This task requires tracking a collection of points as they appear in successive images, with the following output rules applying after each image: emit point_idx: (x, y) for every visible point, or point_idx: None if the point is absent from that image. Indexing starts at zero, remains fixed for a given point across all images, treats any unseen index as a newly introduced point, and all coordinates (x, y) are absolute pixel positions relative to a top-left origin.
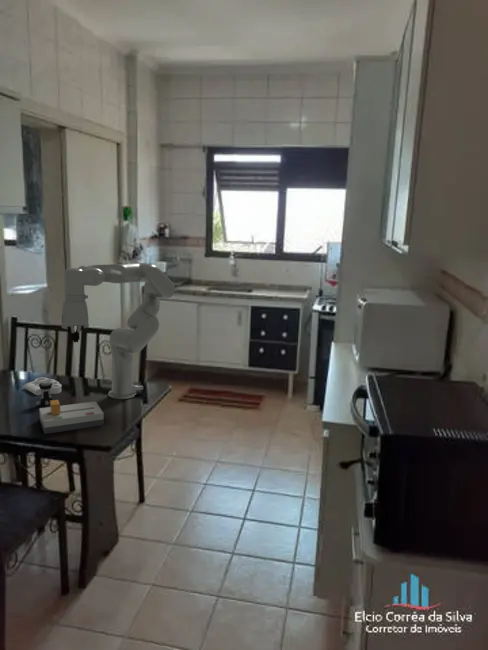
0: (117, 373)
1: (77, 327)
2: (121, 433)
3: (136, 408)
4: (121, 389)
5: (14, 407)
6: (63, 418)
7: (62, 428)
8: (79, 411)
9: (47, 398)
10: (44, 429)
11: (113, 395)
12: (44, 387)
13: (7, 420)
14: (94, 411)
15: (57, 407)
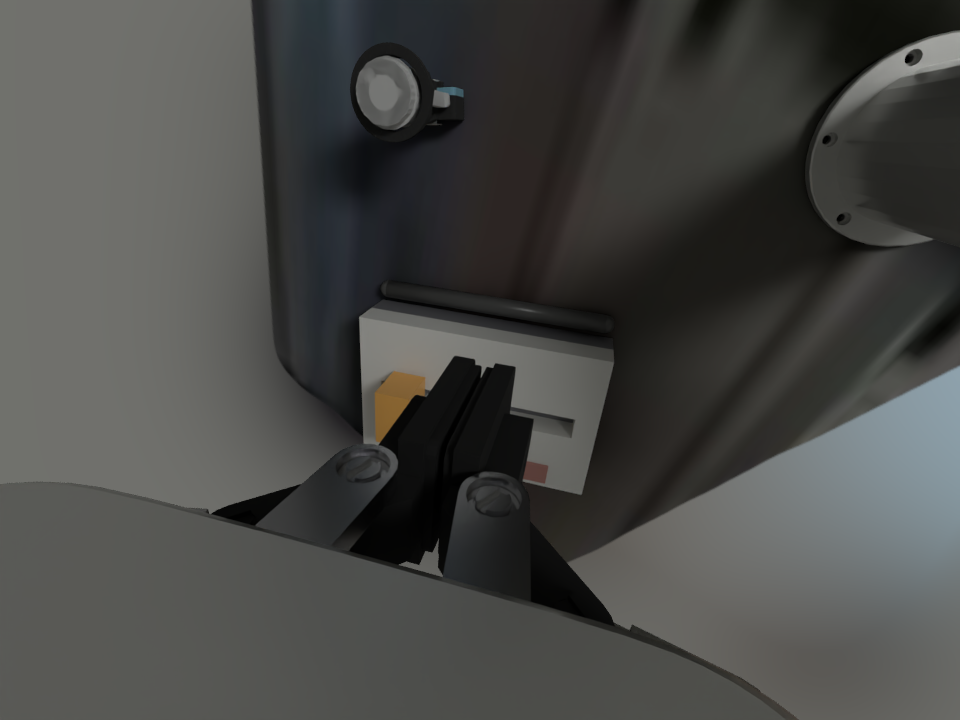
0: (944, 222)
1: (460, 576)
2: (606, 541)
3: (815, 389)
4: (887, 222)
5: (293, 80)
6: None
7: None
8: None
9: (427, 123)
10: None
11: (823, 183)
12: (382, 134)
13: (273, 238)
14: (556, 461)
15: None
